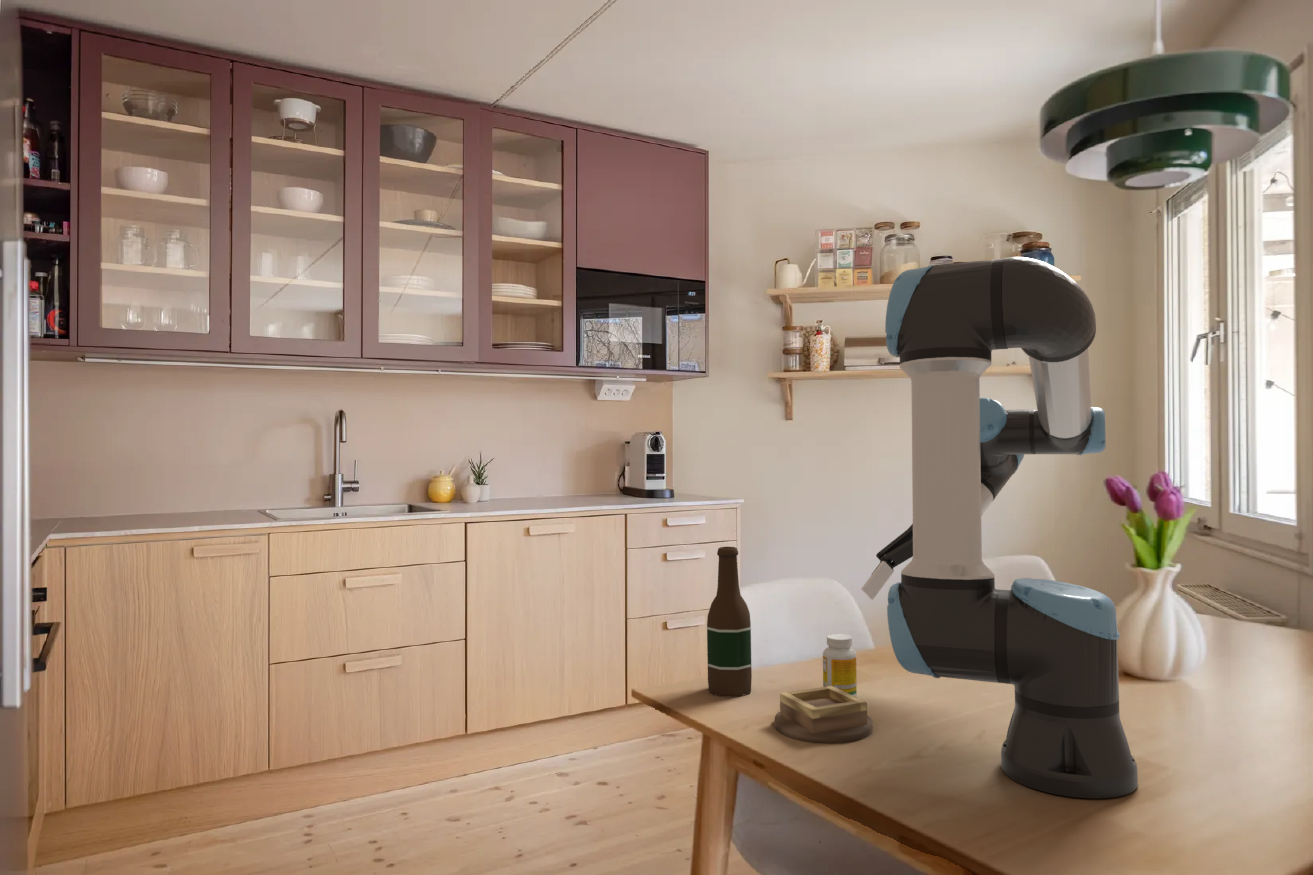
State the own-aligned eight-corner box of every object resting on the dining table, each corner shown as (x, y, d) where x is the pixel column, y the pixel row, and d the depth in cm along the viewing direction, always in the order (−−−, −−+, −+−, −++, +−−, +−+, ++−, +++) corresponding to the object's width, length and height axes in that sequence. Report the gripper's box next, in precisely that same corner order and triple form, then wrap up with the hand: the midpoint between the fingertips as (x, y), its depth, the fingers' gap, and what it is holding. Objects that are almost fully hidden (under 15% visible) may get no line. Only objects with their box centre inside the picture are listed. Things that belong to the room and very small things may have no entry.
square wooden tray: (892, 734, 122) (892, 704, 122) (807, 748, 116) (806, 717, 116) (836, 706, 135) (836, 679, 135) (757, 718, 129) (756, 690, 129)
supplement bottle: (816, 695, 141) (815, 636, 141) (837, 688, 145) (836, 631, 145) (842, 702, 137) (841, 641, 137) (863, 695, 140) (862, 636, 140)
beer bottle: (715, 699, 140) (713, 551, 140) (700, 686, 147) (698, 546, 147) (760, 695, 142) (758, 548, 142) (743, 682, 149) (741, 543, 149)
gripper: (1027, 527, 140) (955, 629, 134) (925, 516, 163) (860, 602, 157) (1001, 496, 138) (927, 597, 132) (902, 489, 161) (835, 575, 155)
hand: (891, 600), depth 145 cm, fingers open, 13 cm apart
